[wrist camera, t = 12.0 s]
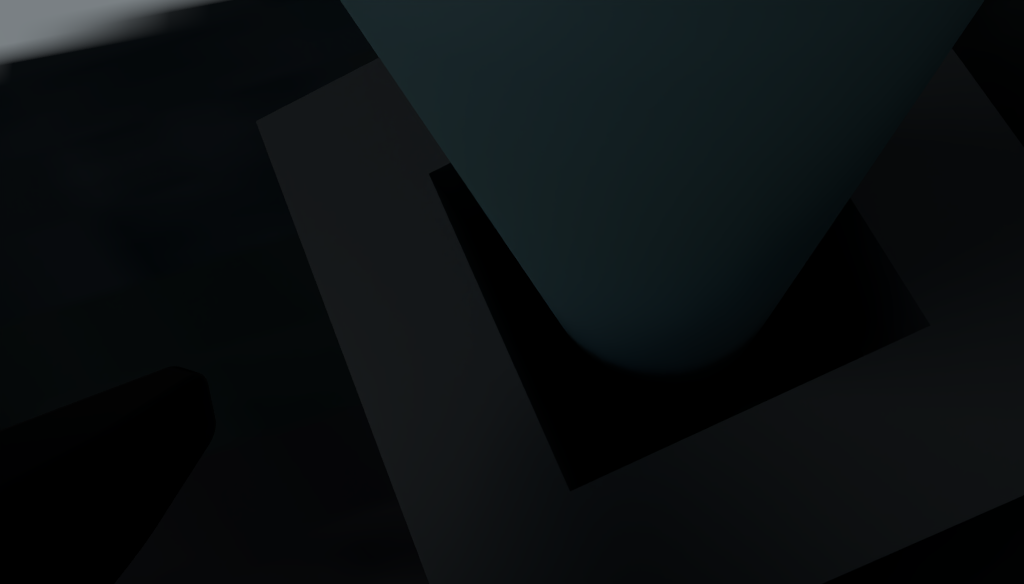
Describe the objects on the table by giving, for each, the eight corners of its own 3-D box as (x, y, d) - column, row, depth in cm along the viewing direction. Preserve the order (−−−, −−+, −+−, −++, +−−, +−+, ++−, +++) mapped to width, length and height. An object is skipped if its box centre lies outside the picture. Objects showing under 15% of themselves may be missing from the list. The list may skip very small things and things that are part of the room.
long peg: (796, 253, 17) (1311, -587, 3) (705, 431, 16) (895, 241, 3) (618, 174, 18) (494, -680, 5) (528, 336, 18) (103, -97, 4)
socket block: (1075, 427, 15) (1215, 411, 11) (527, 670, 16) (484, 732, 12) (772, -30, 19) (801, -161, 15) (336, 191, 19) (255, 121, 16)
